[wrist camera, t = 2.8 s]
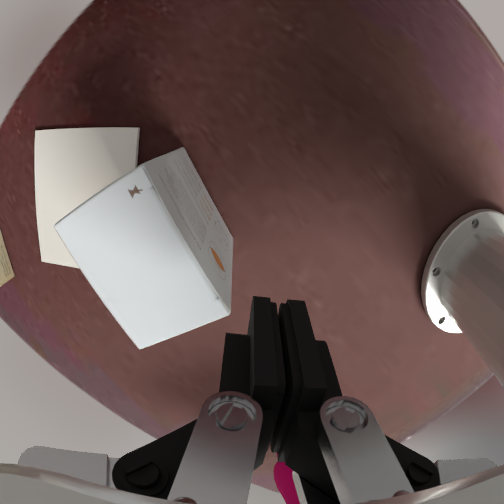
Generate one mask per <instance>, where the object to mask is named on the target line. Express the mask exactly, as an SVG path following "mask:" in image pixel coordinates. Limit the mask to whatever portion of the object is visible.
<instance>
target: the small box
mask: <svg viewBox="0 0 504 504" xmlns="http://www.w3.org/2000/svg"><path fill="white" fill-rule="evenodd" d="M54 228H55V230H56V231H57V233H58V235H59V236H60V238H61V240H62V241H63V243H64V245H65V246H66V248H67V249H68V251H69V253H70V254H71V256H72V257H73V259H74V260H75V262H76V263H77V265H78V267H79V268H80V270H81V271H82V273H83V274H84V276H85V277H86V279H87V280H88V282H89V283H90V284H91V286H92V287H93V289H94V290H95V292H96V293H97V295H98V296H99V297H100V299H101V300H102V301H103V303H104V304H105V306H106V307H107V308H108V310H109V311H110V312H111V314H112V315H113V316H114V318H115V319H116V320H117V322H118V323H119V324H120V326H121V327H122V328H123V330H124V331H125V332H126V333H127V335H128V336H129V337H130V339H131V340H132V341H133V342H134V344H135V345H136V346H137V348H138V349H142V348H145V347H147V346H150V345H153V344H156V343H158V342H161V341H164V340H166V339H169V338H172V337H174V336H177V335H179V334H182V333H185V332H187V331H190V330H192V329H195V328H198V327H200V326H203V325H205V324H208V323H210V322H213V321H215V320H218V319H220V318H223V317H226V316H228V315H229V314H230V312H231V283H232V254H233V237H232V235H231V234H230V232H229V230H228V228H227V226H226V224H225V223H224V221H223V219H222V217H221V215H220V213H219V212H218V210H217V208H216V206H215V204H214V202H213V201H212V199H211V197H210V195H209V193H208V191H207V189H206V188H205V186H204V184H203V182H202V180H201V178H200V176H199V175H198V173H197V171H196V169H195V167H194V165H193V163H192V162H191V160H190V158H189V156H188V154H187V152H186V150H185V148H184V147H181V148H179V149H177V150H174V151H172V152H170V153H167V154H165V155H162V156H159V157H157V158H154V159H152V160H150V161H147V162H145V163H143V164H141V165H139V166H138V167H136V168H135V169H133V170H131V171H130V172H128V173H126V174H125V175H123V176H122V177H120V178H118V179H117V180H115V181H114V182H112V183H111V184H109V185H107V186H106V187H105V188H103V189H102V190H100V191H99V192H97V193H96V194H94V195H93V196H92V197H90V198H89V199H87V200H86V201H85V202H83V203H82V204H80V205H79V206H78V207H76V208H75V209H74V210H72V211H71V212H70V213H68V214H67V215H66V216H64V217H63V218H62V219H60V220H59V221H58V222H57V223H56V224H55V225H54Z"/></svg>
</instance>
